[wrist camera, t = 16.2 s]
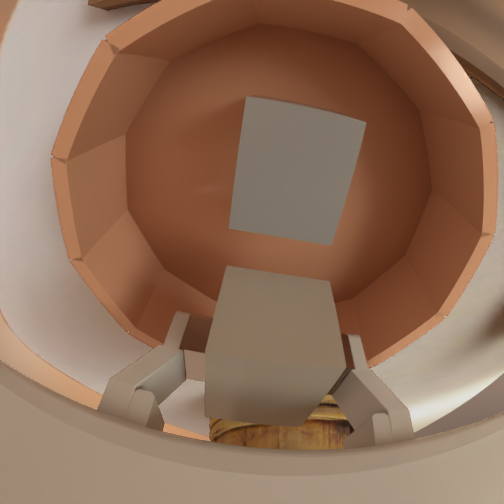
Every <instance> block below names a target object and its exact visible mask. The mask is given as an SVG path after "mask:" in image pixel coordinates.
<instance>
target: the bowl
mask: <svg viewBox="0 0 504 504" xmlns="http://www.w3.org/2000/svg"><path fill="white" fill-rule="evenodd" d="M407 7H408V5H407V4H405V3H403V2H401V1H399V0H161V1H159V2H157V3H156V4H154V5H152V6H150V7H149V8H147V9H145V10H144V11H142V12H140V13H139V14H137V15H135V16H134V17H132V18H131V19H129V20H128V21H126V22H125V23H123V24H122V25H120V26H119V27H117V28H116V29H115V30H113V31H112V32H110V33H109V34H108V35H106V39H107V40H102V41H101V42H100V44H99V46H98V48H97V49H96V51H95V53H94V55H93V56H92V58H91V60H90V62H89V64H88V66H87V68H86V69H85V71H84V73H83V75H82V77H81V79H80V81H79V84H78V86H77V88H76V90H75V92H74V94H73V97H72V99H71V101H70V104H69V106H68V108H67V111H66V113H65V116H64V118H63V121H62V124H61V126H60V129H59V132H58V135H57V138H56V141H55V144H54V147H53V150H52V153H51V155H52V156H54V157H52V158H51V166H52V175H53V183H54V190H55V197H56V203H57V208H58V214H59V219H60V224H61V229H62V233H63V238H64V242H65V246H66V250H67V254H68V258H69V259H72V260H71V261H70V262H71V263H72V265H73V266H74V268H75V269H76V270H77V272H78V273H79V275H80V276H81V277H82V279H83V280H84V281H85V283H86V284H87V285H88V287H89V288H90V289H91V291H92V292H93V293H94V294H95V296H96V297H97V298H98V300H99V301H100V302H101V303H102V304H103V306H104V307H105V308H106V309H107V311H108V312H109V313H110V314H111V315H112V316H113V318H114V319H115V320H116V321H117V322H118V323H119V325H120V326H121V327H122V328H123V329H124V330H125V331H126V332H128V331H129V333H128V334H130V335H131V336H133V337H135V338H136V339H138V340H140V341H141V342H143V343H145V344H147V345H148V346H150V347H152V348H155V347H157V346H158V345H164V342H165V339H166V337H167V334H168V331H169V329H170V326H171V323H172V321H173V318H174V315H175V313H176V312H177V311H182V312H186V313H192V314H197V315H201V316H206V317H211V318H213V317H214V313H215V309H216V305H217V301H218V297H219V293H220V289H221V285H222V282H223V278H224V274H225V270H226V266H234V267H240V268H246V269H253V270H259V271H265V272H272V273H279V274H285V275H292V276H299V277H305V278H312V279H319V280H326V281H330V285H331V289H332V294H333V298H334V303H335V308H336V313H337V318H338V323H339V328H340V333H341V334H352V335H359V336H360V338H361V342H362V346H363V350H364V354H365V358H366V362H367V367H368V369H369V368H372V366H374V367H375V366H376V365H378V364H380V363H381V362H383V361H385V360H386V359H388V358H389V357H391V356H393V355H394V354H396V353H397V352H399V351H400V350H402V349H403V348H405V347H406V346H408V345H409V344H411V343H412V342H414V341H415V340H417V339H418V338H420V337H421V336H422V335H424V334H425V333H426V332H428V331H429V330H431V329H432V328H433V327H435V326H436V325H437V324H439V323H440V322H441V321H443V320H444V319H445V317H444V316H448V314H449V313H450V312H451V310H452V309H453V307H454V306H455V304H456V303H457V301H458V300H459V298H460V297H461V295H462V293H463V292H464V290H465V289H466V287H467V285H468V284H469V282H470V280H471V279H472V277H473V275H474V273H475V272H476V270H477V268H478V266H479V265H480V263H481V261H482V259H483V257H484V255H485V253H486V251H487V249H488V247H489V245H490V243H491V241H492V239H493V237H494V235H493V233H495V229H496V218H497V201H498V160H497V144H496V133H495V124H494V122H491V121H492V120H493V117H492V116H491V114H490V112H489V110H488V108H487V106H486V105H485V103H484V101H483V99H482V98H481V96H480V94H479V93H478V91H477V89H476V88H475V86H474V84H473V83H472V81H471V80H470V78H469V77H468V75H467V74H466V72H465V71H464V69H463V68H462V66H461V65H460V64H459V62H458V61H457V59H456V58H455V57H454V55H453V54H452V53H451V51H450V50H449V49H448V48H447V46H446V45H445V44H444V43H443V41H442V40H441V39H440V38H439V37H438V35H437V34H436V33H435V32H434V31H433V30H432V28H431V27H430V26H429V25H428V24H427V23H426V22H425V21H424V20H423V18H422V17H421V16H420V15H419V14H418V13H417V12H416V11H415V10H414V9H413V8H410V9H408V10H407ZM252 95H257V96H264V97H271V98H277V99H282V100H288V101H293V102H298V103H303V104H308V105H312V106H317V107H321V108H325V109H329V110H333V111H337V112H341V113H343V114H346V115H349V116H351V117H354V118H357V119H359V120H362V121H364V122H367V123H366V127H365V131H364V135H363V139H362V143H361V147H360V151H359V155H358V159H357V163H356V166H355V170H354V174H353V177H352V181H351V184H350V188H349V191H348V194H347V198H346V201H345V204H344V208H343V211H342V214H341V217H340V220H339V224H338V227H337V230H336V233H335V236H334V239H333V242H332V245H331V246H329V245H324V244H318V243H312V242H306V241H301V240H295V239H289V238H283V237H277V236H271V235H265V234H259V233H253V232H246V231H240V230H234V229H229V221H230V212H231V204H232V196H233V188H234V180H235V172H236V165H237V157H238V150H239V142H240V135H241V128H242V121H243V114H244V107H245V101H246V96H252ZM371 365H372V366H371Z"/></svg>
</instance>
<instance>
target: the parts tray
mask: <svg viewBox="0 0 504 504" xmlns="http://www.w3.org/2000/svg"><path fill="white" fill-rule="evenodd" d="M158 1H161V0H89V1H88V5H90V6H94V7H97V8H101V9H104V10H111V9H115V8H120V7H125V6H131V5H136V4H143V3H150V2H158ZM399 1H401V2H403V3H405V4H407V5H408V7H407V10H408V9H410V8H413V9H414V10H415V11H416V12H417V13H418V14H419V15H420V16H421V17H422V18H423V20H424V21H425V22H426V23H427V24H428V25H429V26H430V27H431V28H432V30H433V31H434V32H435V33H436V34H437V35H438V37H439V38H440V39H441V40H442V41H443V43H444V44H445V45H446V46H447V48H448V49H449V50H450V51H451V53H452V54H453V55H454V57H455V58H456V59H457V61H458V62H459V64H460V65H461V66H462V68H463V69H464V71H465V72H466V73H468V74H469V75H471V76H472V77H474V78H475V79H477V80H478V81H480V82H481V83H483V84H484V85H485V86H487V87H488V88H489V89H491V90H492V91H493V92H495V93H496V94H497V95H499V96H500V97H501V98H502V99H504V0H399Z"/></svg>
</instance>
